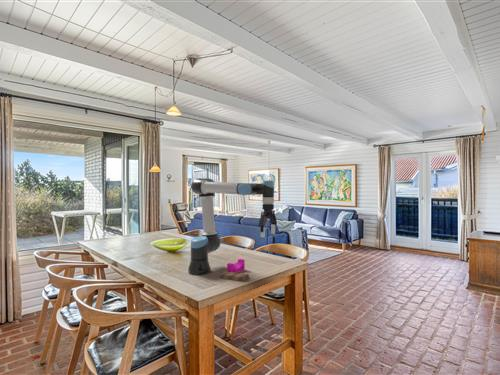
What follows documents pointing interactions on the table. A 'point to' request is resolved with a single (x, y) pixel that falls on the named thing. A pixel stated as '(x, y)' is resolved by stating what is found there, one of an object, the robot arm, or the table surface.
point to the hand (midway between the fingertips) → (267, 235)
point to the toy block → (236, 266)
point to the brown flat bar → (234, 276)
